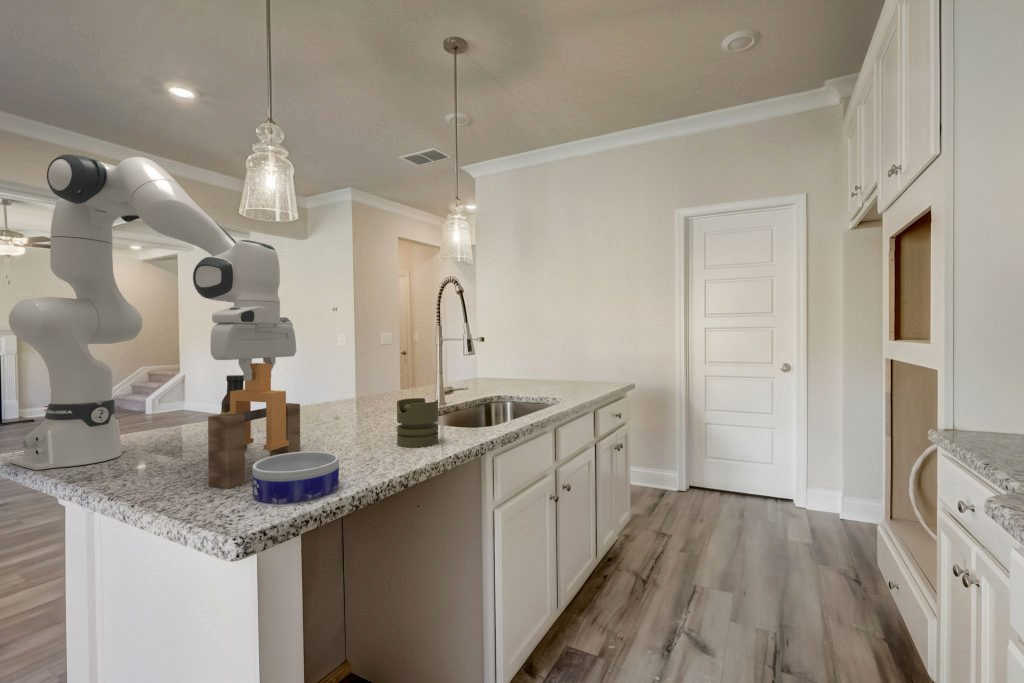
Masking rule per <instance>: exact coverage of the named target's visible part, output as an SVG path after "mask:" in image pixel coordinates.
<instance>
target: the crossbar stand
mask: <svg viewBox="0 0 1024 683" xmlns="http://www.w3.org/2000/svg"><path fill="white" fill-rule="evenodd" d="M264 418H266V407H264V408H260V409H255V410H251V411H247V412H242V413H237V414H227V413H225V414H221V413H220V414H215V415H210V416H207V432H208V433H207V440H208V441H207V444H208V445H207V447H208V448H207V450H208V453H207V456H208V460H207V461H208V462H207V463H208V466H207V467H208V469H207V470H208V475H207V476H208V482H207V483H208V488H216V489H226V490H229V489H232V488H234V487H238V486H240V485H243V484H245V483H246V450H245V422H246V421H250V420H251V421H254V420H258V419H264ZM286 441H289V445H288V446H285V447H281V448H278V449H275V450H272V451H271V450H269V457H270V456H274V455H279V454H285V453H292V452H301V404H300V403H294V402H293V403H292V402H291V403H289V402H286Z"/></svg>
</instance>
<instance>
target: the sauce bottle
mask: <svg viewBox="0 0 1024 683" xmlns="http://www.w3.org/2000/svg"><path fill="white" fill-rule="evenodd" d="M225 380H226V383H227V384H226V393H225V396H224V397H223V398H222V401H221V411H220V414H225V413H227V414H230V391H237V390H245V388H244V383H245V380H244V375H243V374H228V375H226V379H225ZM247 449H248V444H247V445H245V451H246V450H247Z"/></svg>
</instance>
